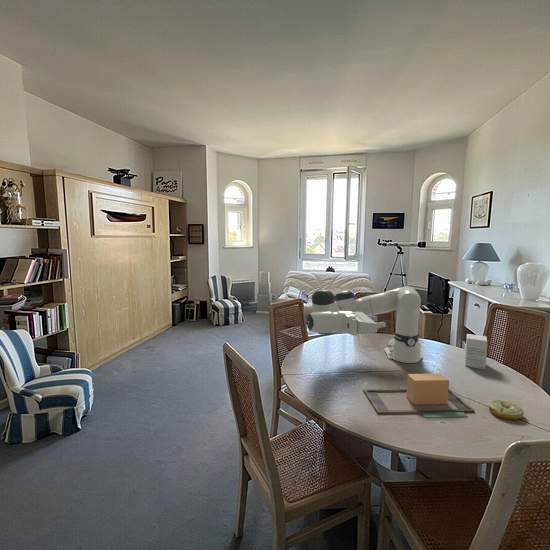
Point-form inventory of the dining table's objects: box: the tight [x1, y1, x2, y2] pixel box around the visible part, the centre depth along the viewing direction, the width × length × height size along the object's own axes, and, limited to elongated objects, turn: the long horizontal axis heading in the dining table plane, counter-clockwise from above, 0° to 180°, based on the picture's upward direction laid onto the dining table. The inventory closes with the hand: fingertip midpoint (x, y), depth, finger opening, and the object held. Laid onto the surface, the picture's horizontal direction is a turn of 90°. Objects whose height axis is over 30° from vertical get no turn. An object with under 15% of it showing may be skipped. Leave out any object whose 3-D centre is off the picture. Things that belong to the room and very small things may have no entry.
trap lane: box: [363, 385, 476, 419], centre depth 130 cm, size 24×37×1 cm, turn 91°
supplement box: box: [464, 333, 488, 370], centre depth 165 cm, size 9×9×15 cm
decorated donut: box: [487, 399, 525, 421], centre depth 120 cm, size 10×11×4 cm
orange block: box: [405, 373, 450, 405], centre depth 130 cm, size 6×14×10 cm, turn 91°
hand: (380, 321), depth 130 cm, fingers open, 8 cm apart
